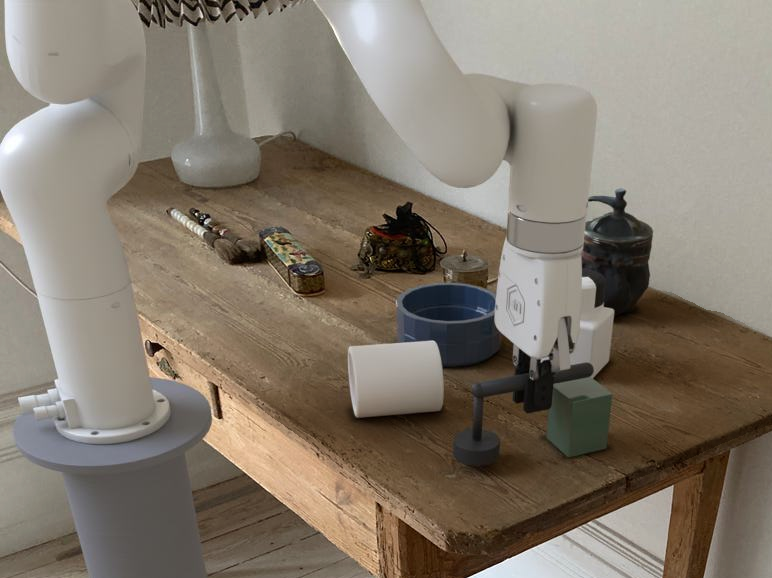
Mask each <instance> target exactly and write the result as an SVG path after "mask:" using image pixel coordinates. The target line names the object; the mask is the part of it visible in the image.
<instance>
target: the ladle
mask: <svg viewBox="0 0 772 578" xmlns="http://www.w3.org/2000/svg"><path fill="white" fill-rule="evenodd" d="M570 366H571V368H570V371H566V372H561V373H558V374H557V376H555V377H554V384H556V383H562V382H567V381H572V380H577V379H583V378H588V377H590V376H591V375H592V374H593V372H594V368H593V366H592V364H590V363H587V362H586V363H580V364H575V365H570ZM528 376H530V375H529V373H526V374H520V375H515V376H514V375H509V376H503V377H499V378H493V379H488V380H487V379H486V380H482V381H478V382H477V381H476V382H475V383H473V384H472V386H471V389H470V392H471V395H472V396H473V411H472V428H466V429H463V430H460V431H458V432H457V433H456V434H454V436H453V442H452V443H453V445H452V446H453V447H452V448H453V449H452V455H453V458H455V459H456V461H458V462H459V463H461V464H463V465H467V466H475V467H476V466H479V467H481V466H482V467H483V466H488V465H490V464H493V463H495V462H496V461H498V459H499V458H500V452H501V451H500V450H501V439H500V436H499V435H498V434H497V433H495V432H493V431H491V430H489V429H484V428H483V419H484V418H483V415H484V398H488V397H492V396H498V395H502V394H509V393H513V392H514V391H520V390H525V377H528Z"/></svg>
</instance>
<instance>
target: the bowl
mask: <svg viewBox="0 0 772 578" xmlns="http://www.w3.org/2000/svg"><path fill="white" fill-rule="evenodd" d="M495 304H496V292H494V291H493V290H489V289H487V288H485V287H483V286H478V285H474V284H469V283H463V282H462V283H461V282H435V283H428V284H427V283H426V284H422V285H417V286H415V287H411V288H408V289H407V290H405V291H403V292H402V293H400V294H399V295H398V297H397V298H396V300H395V317H396V318H395V321H396V343H406V342H420V341H435V342H436V343H437V346H438V348H439V352H440V357H441V362H442V367H443V368H446V367H447V368H454V367H465V366H472V365H476V364H480V363H482V362H484V361H486V360H488V359H490V358H491V357H492V356H493V355H494V354H496V353H497V352H498V351H499V350H500V349H501V345H502V340H503V338H502V337H503V334H502V333H501V332H500V331H499V330H498V329H497V327H496V325H495Z"/></svg>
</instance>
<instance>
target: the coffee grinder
mask: <svg viewBox="0 0 772 578" xmlns="http://www.w3.org/2000/svg"><path fill="white" fill-rule="evenodd" d="M626 193H627V190H626V189H625V188H622V187H620V188H617V189H615V190H614V195H615V196H608V195H591V196H589V197H588V203H590V202H599V203H602V204H605V205H607V206H609V207H610V208H612V210H613V211H610V212H607V213H604V214H603V215H601V216H600V215H599V216H597V217H594V218H590V219H589V220H586V226H585V235H584V245H583V250H582V252H581V253H580V254H581V263H582V268H586V269H591V270H594V271H596V272H598V273H600V274H602V275H603V276H604V278H605V279H606V288H605V297H604V307H606V308H611V309H613V310H614V319H615V318H616V317H617V316H619V315H620V314H623V313H627V314H629V313H632V312H635V307H636V305H637V303H638V301H639V300H640V299H641V298H642V297H643V295H644V294H645V292H646V291H647V289H648V288H649V286H650V278H651V271H650V265H649V261H650V257H651V252H652V247H653V245H652V244H653V237H654V229H653V228H652V226H650V225H649V224H648V223H646V222H644V221H642V220H639V219H638V218H637V217H635V216H634V215H632V214H630V213H628V212H626V211H625V210H626V207H627V206H628V202H627V201H626V199H625V198H624V197H625V196H626Z"/></svg>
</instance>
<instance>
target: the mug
mask: <svg viewBox="0 0 772 578" xmlns="http://www.w3.org/2000/svg"><path fill="white" fill-rule="evenodd" d="M347 368H348V370H347V371H348V383H349V390H350V391H349V392H350V399H351V406H352V410H353V414H354V416H355V417H356V418H357V419H360V418H371V417H384V416H396V415H398V416H399V415H407V414H409V415H410V414H420V413H434V412H440V411H441V410H442V408H443V405H444V397H445V396H444V395H445V394H444V393H445V392H444V391H445V390H444V387H445V386H444V385H445V384H444V371H443V366H442V362H441V357H440V352H439V348H438V346H437V343H436V342H435V341H420V342H406V343H397V342H395V343H391V342H390V343H379V344H365V345H364V344H363V345H350V346H348V349H347Z"/></svg>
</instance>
